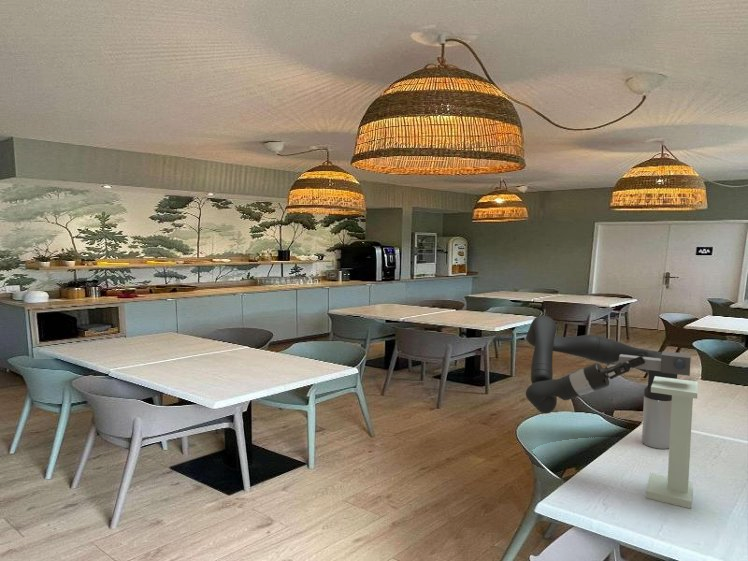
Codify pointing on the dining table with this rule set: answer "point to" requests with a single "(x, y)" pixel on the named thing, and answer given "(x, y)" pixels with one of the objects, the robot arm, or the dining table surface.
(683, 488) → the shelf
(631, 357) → the grey block with bar
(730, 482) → the dining table surface
